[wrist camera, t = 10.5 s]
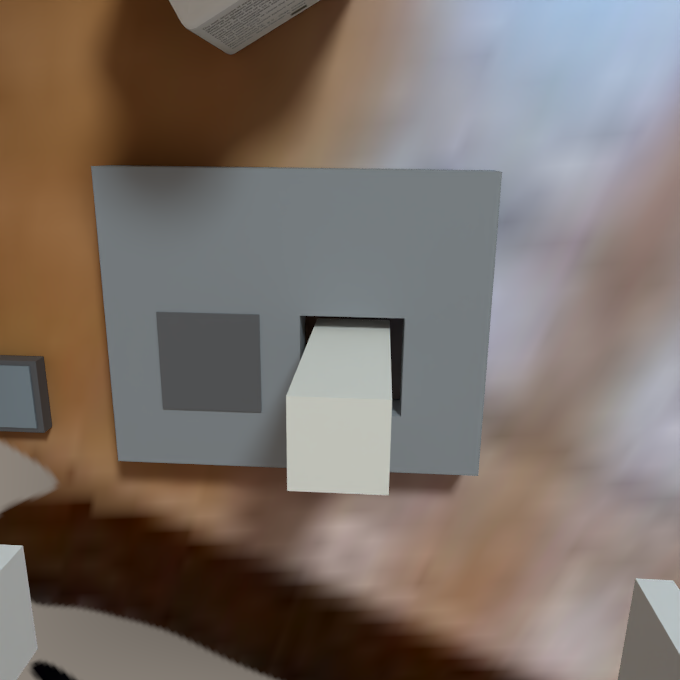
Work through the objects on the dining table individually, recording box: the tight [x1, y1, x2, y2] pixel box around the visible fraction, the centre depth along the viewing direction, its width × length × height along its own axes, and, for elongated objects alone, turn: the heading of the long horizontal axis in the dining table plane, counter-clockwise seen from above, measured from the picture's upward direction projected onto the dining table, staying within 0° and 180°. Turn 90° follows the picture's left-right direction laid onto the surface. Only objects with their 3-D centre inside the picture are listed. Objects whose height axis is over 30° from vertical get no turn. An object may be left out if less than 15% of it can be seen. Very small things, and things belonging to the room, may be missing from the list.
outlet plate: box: [91, 165, 502, 476], centre depth 35 cm, size 16×20×3 cm
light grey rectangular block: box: [286, 318, 392, 495], centre depth 31 cm, size 4×4×12 cm
